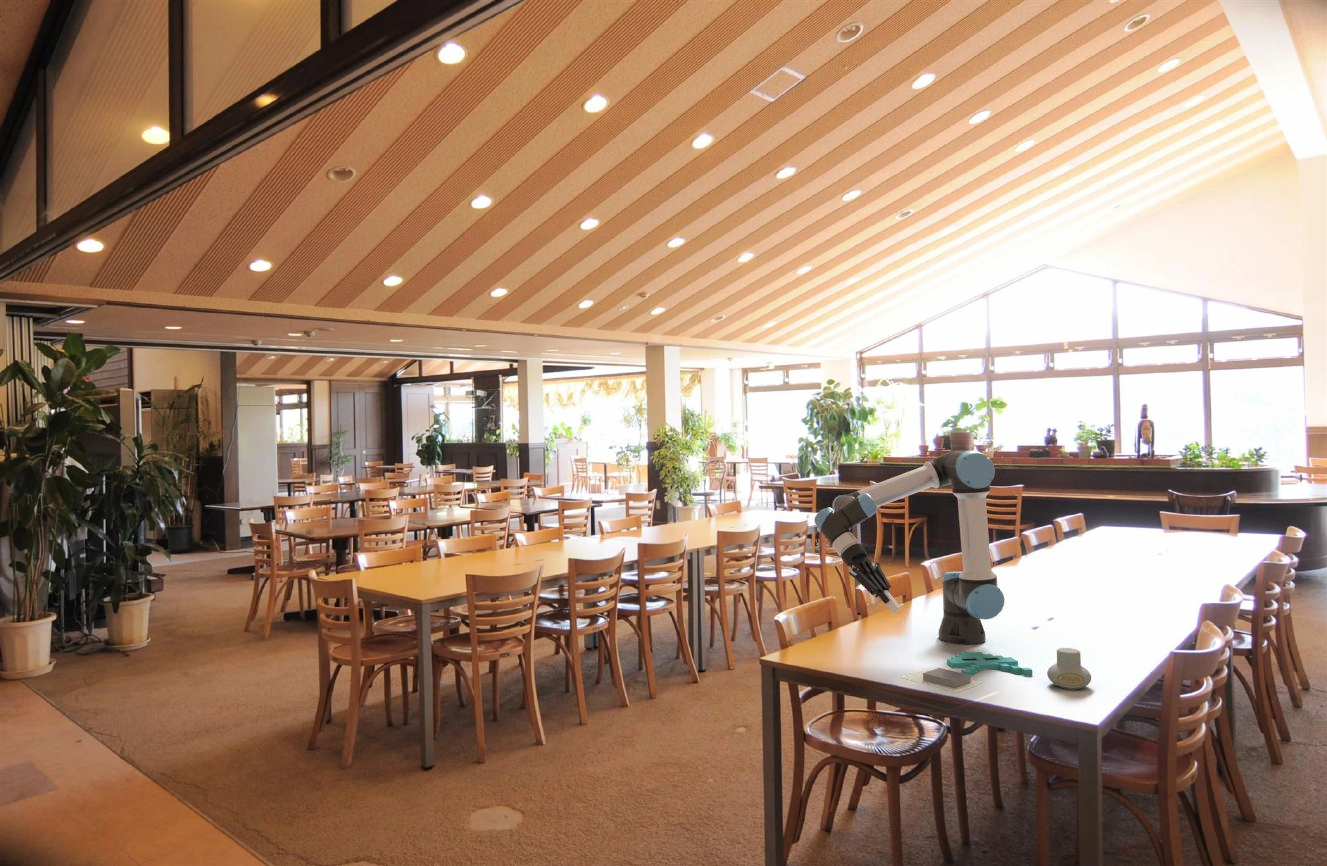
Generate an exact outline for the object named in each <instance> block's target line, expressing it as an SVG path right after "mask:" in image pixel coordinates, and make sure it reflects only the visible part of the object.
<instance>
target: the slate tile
mask: <svg viewBox="0 0 1327 866" xmlns="http://www.w3.org/2000/svg"><path fill="white" fill-rule="evenodd" d="M930 670H931V671H928V672H925V673H923V680H925V681H928V682H932V683H936V684H940V685H944V686H948V687H952V688H956V687H959V686H962V685H965V684H968V683H970V682H971V680H972V679H971V677H972V676H970V675H967V674H963V673H961V672H959V671H954V670H950V669H946V668H942V667H937V668H934V669H930Z"/></svg>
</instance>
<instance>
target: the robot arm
mask: <svg viewBox="0 0 1327 866" xmlns="http://www.w3.org/2000/svg"><path fill="white" fill-rule="evenodd" d="M995 474H996V469H995V465H994V463H993V461H992V459H991V458H990V456H988V455H986V454H985V453H983V452H979V451H976V450H952V451H949V452H946V453H944V454H941V455H940V456H939V455H938V456H937V457H934V458H933V459H930V460H928V461H925V462H924V463H923V466H920V467H918V468H915V469H912V470H910V471H906V472H904V473H901V474H899V475H896V476H893V477H891V478H888V479H885V480H883V481H880V482H878V483H875V484H872V485H869V486H867V487H864V488H862V489H859V490H857V491H853V492H851V493H848V494H842V495H837V496H836V497H835V498H834V500H833V501H832V505H831V507H826V508H823V509H821V510H820V511H818V512H817V514H816V515H815V516H814V522H813V523H814V524H815V525H816V527H817V528H818V530H819V532H820V533H821V534H822V535H823V537H824V538H825V540H827V542H828V543H829V544H830V545H831V546H832V548H833V549H834V550H835V551H836V553H837V555H838V556H839V557H840V558H841V560H842V561H843V563H844V564H845V565H846V566H847V567H850V568H851V570H850V571H849V572H848V574H849V576H851V577H853V578H854V580H855V579H856V581H858V583H859V584H860V585H861V586H862V587H863V588H864V589H865V590H866V591H867V592H868V593H869V594H871V596H874V597H875V598H876V599H878V597H879V599H880V600H881V601H882V602H883V604H884V605H886V607H887V608H888V610H889V611H890V612H891V613H892V614H896V613H897V612H898V611H899V610H900V609H901V608H902V607H901V605H900V604H899V603H898V602H897V600H896V599H895V597H894V596H893V595H892V593H891V592H890V589H891V587H892V585H891V584H890V582H889V580H888V578H887V577H886V575H885V573H884V571H883V570H882V568H881V565H880V562H876V563H874V562H873V561H872V560H871V559H870V558H868V555H867V550H866V549H865V548H864V546H863V545H862V544H861V543H859V540H858V539H857V538H856V537H855V535H854V534H853V532H851V529H853V528H855V527H856V526H858V525H860V524H861V523H863V522H864V521H866V520H867V519H869V518H871V517H872V516H873V515H875V514H876V513H877V512H878V508H880V507H883V506H885V505H887V504H891V503H893V502H895V501H898V500H900V499H903V498H905V497H908V496H911V495H914V494H917V493H919V492H922V491H924V490H927V489H929V488H933V489H938V488H942V487H944V486H951V491H952V492H951V493H952V494H953V495H954V496H955V497H956V498H957V507H958V509H957V510H958V520H959V529H960V530H959V531H960V532H959V534H960V547H961V559H962V560H961V561H962V571H947V572H945V573H944V574H943V575H942V600H943V601H942V603H943V604H942V608H943V615H942V620H941V623H940V626H939V629H938V639H939V640H941V641H943V642H947V643H951V644H959V645H960V644H961V645H975V644H976V645H978V644H981V643H984V642H985V641H986V640H987V639H986V631H985V629H984V626H983V622H982V621H981V620H985V621H986V620H991V619H993V618H995V617H997V616H998V615H999V614H1000V613H1001V612H1002V611H1003V608H1004V606H1005V595H1004V593H1003V591H1002V590H1001V589H1000V587H998V578H997V573H995V572H993V570H992V566H991V564H992V563H991V549H990V536H989V524H988V523H989V522H988V512H987V496H988V495H989V494H990V493H991V483H992V481H993V480H994V477H995Z"/></svg>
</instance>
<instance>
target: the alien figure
mask: <svg viewBox="0 0 1327 866" xmlns="http://www.w3.org/2000/svg"><path fill="white" fill-rule="evenodd" d="M946 664H947V665H948V666H949V667H951V668H952V669H954V668H960V669H961V668H965V669H961V671H960V673H963V674H967V675H970V676H971V677H973V675H977V672H981V670H992V671H1000V672H1002V673H1011V674H1013V675H1022V676H1024V677H1032V676H1033V669H1031V668H1030V667H1020V666H1019V661H1018V660H1017V659H1015V658H1013V657H1012V656H1011V657H1010V656H1009V657H1008V656H1007V657H1004V656H1003V655H993V654H992V653H983V652H981V651H977V652H976V651H975V652H969V651H968V652H959V654H955V656H950V658H947V659H946Z"/></svg>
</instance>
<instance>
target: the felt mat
mask: <svg viewBox="0 0 1327 866" xmlns="http://www.w3.org/2000/svg"><path fill="white" fill-rule="evenodd" d="M931 670H932V669H929V668H926V669H922V670H919V671H917V672H914V673H911V674H909V675H905V676H902V677H900V678H901V679H904V680H909V681H912V682H916V683H920V684H922V685H926V686H931V687H935V688H938V689H942V690H945V691H949V692H954V693H960V692H962V691H965V690H968V689H970V688H973V687H975V686H979V685H980V684H983V682H982V681H979V680H974V679H971V682H970V683H968V684H965V685H962V686H959V687H956V688H952V687H948V686H944V685H940V684H936V683H932V682H928V681H925V680H923V673H925V672H928V671H931Z"/></svg>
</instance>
